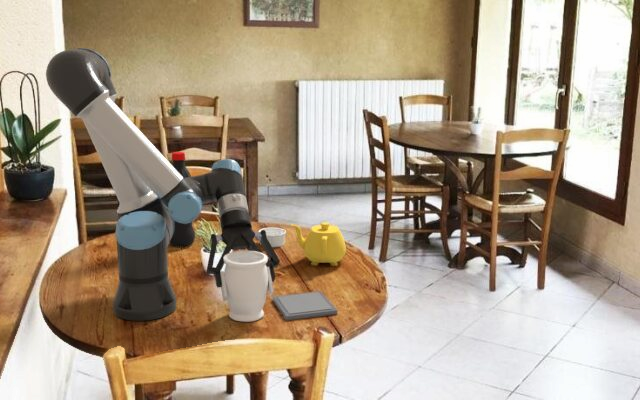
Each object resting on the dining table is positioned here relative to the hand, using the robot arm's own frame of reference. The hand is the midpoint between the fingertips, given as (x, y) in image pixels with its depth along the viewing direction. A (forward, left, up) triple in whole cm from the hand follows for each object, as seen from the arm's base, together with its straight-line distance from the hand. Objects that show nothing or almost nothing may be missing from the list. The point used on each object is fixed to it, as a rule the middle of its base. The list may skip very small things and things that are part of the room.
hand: (248, 296), depth 162 cm
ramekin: (+20, +56, -6) cm, 60 cm away
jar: (0, +3, -6) cm, 7 cm away
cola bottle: (-8, +63, -6) cm, 64 cm away
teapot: (+29, +36, -6) cm, 47 cm away
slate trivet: (+15, +4, -6) cm, 17 cm away
